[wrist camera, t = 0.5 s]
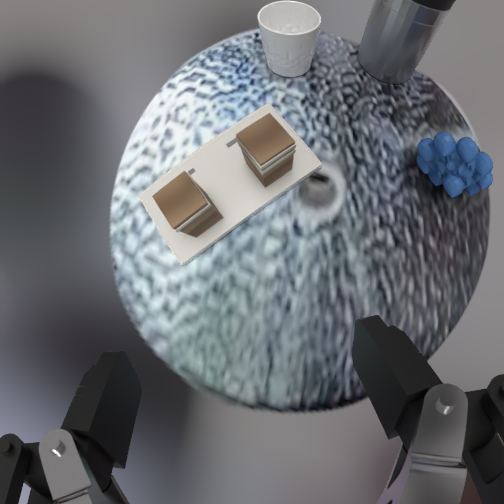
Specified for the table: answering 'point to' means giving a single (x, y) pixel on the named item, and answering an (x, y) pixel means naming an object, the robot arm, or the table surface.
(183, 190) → the one band post
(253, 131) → the two band post
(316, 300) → the table surface
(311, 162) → the white rectangular board
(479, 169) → the grapes
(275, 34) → the white cup
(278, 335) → the table surface
